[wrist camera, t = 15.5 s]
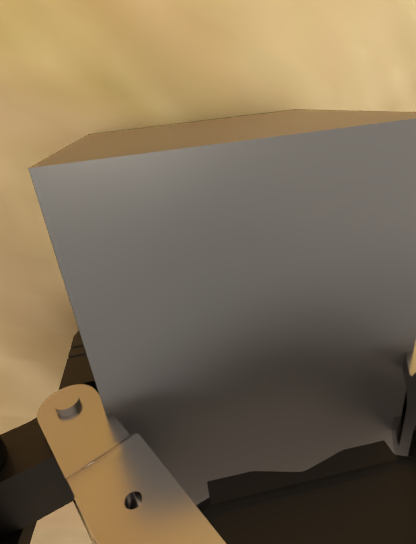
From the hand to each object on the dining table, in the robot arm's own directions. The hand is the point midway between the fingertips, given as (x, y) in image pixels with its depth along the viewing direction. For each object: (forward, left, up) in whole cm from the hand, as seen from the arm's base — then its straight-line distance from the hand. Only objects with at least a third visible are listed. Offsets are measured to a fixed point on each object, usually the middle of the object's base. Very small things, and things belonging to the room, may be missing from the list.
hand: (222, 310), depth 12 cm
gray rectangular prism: (0, 0, -2) cm, 2 cm away
